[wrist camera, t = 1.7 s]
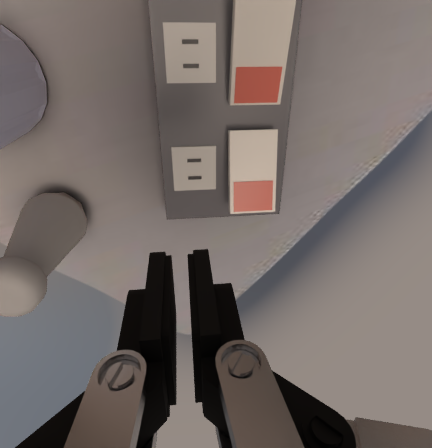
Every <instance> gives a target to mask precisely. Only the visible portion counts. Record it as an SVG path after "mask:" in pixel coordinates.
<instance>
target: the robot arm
mask: <svg viewBox="0 0 432 448" xmlns="http://www.w3.org/2000/svg"><path fill="white" fill-rule="evenodd" d="M188 271H189V290H190V309H191V328H192V347H193V364H194V384H195V402H196V403H198V402H202V406H203V413H204V417H206V418H207V419H208V420H209V421H210V422H212V423H213V424H214V425H215V426H216V434H217V439H218V444H219V448H432V430H429V429H424V428H418V427H412V426H406V425H400V424H394V423H388V422H382V421H375V420H370V419H364V418H358V417H356V418H355V420H354V421H352V420H346V419H345V418H344V417H342V416H341V415H340V414H339V413H338V412H336V411H335V410H333V409H332V408H330V407H329V406H327V405H325V404H324V403H322V402H320V401H319V400H317V399H316V398H314V397H313V396H311V395H309V394H308V393H306V392H305V391H303V390H301V389H300V388H298V387H297V386H295V385H294V384H292V383H291V382H289V381H287V380H286V379H284V378H283V377H281V376H280V375H278V374H276V373H275V372H273V371H272V370H271V367H270V365H269V363H268V360H267V358H266V356H265V354H264V353H263V351H262V350H261V349H260V348H259V347H258V346H257V345H256V344H254V343H252V342H250V341H245V340H244V335H243V331H242V327H241V323H240V318H239V314H238V310H237V305H236V301H235V296H234V292H233V288H232V284H231V283H226V284H213V279H212V273H211V266H210V260H209V253H208V249H203V250H193V254H188ZM170 405H176V306H175V293H174V281H173V269H172V257H171V255H169V256H166V253H165V252H153V253H150V256H149V264H148V272H147V280H146V288H145V289H140V290H129V292H128V295H127V300H126V306H125V311H124V316H123V321H122V327H121V332H120V337H119V342H118V347H117V351H116V352H113V353H110V354H109V355H107V356H105V357H104V358H102V359H101V360H100V362H99V363H98V364H97V365H96V367H95V368H94V370H93V372H92V375H91V377H90V380H89V383H88V385H87V388H86V391H84V392H83V393H82V394H81V395H79V396H78V397H77V398H76V399H74V400H73V401H72V402H71V403H69V404H68V405H67V406H66V407H64V408H63V409H62V410H61V411H60V412H58V413H57V414H56V415H55V416H53V417H52V418H51V419H50V420H49V421H47V422H46V423H45V424H44V425H43V426H41V427H40V428H39V429H37V430H36V431H35V432H34V433H33V434H31V435H30V436H29V437H28V438H26V439H25V440H24V441H23V442H21V443H20V444H19V445H18V446H17V447H15V448H155V447H156V441H157V430H158V429H159V428H160V427H161V426H162V425H163V424H164V423H165V422H166V421H167V417H169V416H170Z"/></svg>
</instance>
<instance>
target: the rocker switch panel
mask: <svg viewBox="0 0 432 448" xmlns="http://www.w3.org/2000/svg"><path fill="white" fill-rule="evenodd" d="M148 4H149V16H150V27H151V39H152V51H153V63H154V75H155V86H156V98H157V110H158V122H159V133H160V145H161V157H162V169H163V180H164V192H165V204H166V216H167V219H186V218H206V217H225V216H245V215H265V214H279V211H280V202H281V192H282V183H283V174H284V165H285V155H286V146H287V137H288V127H289V118H290V109H291V100H292V90H293V81H294V72H295V62H296V53H297V44H298V34H299V25H300V16H301V7H302V0H296V5H295V11H294V18H293V24H292V31H291V37H290V44H289V50H288V57H287V63H286V70H285V76H284V83H283V89H282V96H281V103H280V104H279V105H230V104H229V101H228V99H229V78H230V56H231V35H232V14H233V0H148ZM263 129H278V141H277V171H276V201H275V212H261V213H241V214H230V212H229V186H228V130H263Z"/></svg>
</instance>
